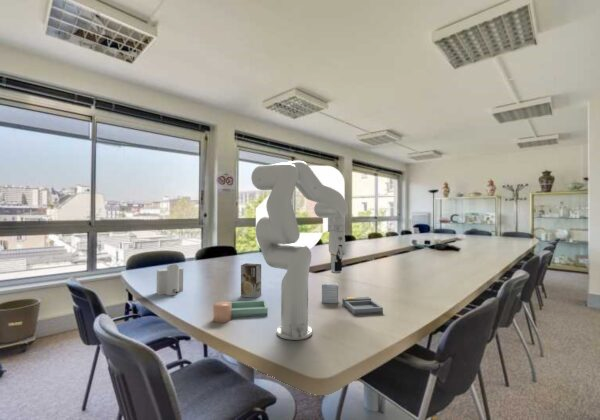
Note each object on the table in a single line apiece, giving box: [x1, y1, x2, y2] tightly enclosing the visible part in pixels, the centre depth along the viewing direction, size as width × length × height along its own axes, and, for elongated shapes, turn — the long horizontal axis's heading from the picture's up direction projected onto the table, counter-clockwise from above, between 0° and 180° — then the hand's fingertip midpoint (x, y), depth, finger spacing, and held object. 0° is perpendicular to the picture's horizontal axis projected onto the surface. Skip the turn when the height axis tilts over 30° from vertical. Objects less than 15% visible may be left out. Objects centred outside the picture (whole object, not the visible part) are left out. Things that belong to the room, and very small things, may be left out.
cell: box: [330, 253, 342, 274], centre depth 130 cm, size 4×4×8 cm
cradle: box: [341, 296, 384, 316], centre depth 129 cm, size 14×13×3 cm
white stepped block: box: [156, 263, 184, 296], centre depth 152 cm, size 12×14×15 cm
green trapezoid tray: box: [230, 299, 269, 319], centre depth 124 cm, size 11×16×3 cm
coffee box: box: [240, 262, 262, 299], centre depth 149 cm, size 9×6×16 cm
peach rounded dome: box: [212, 301, 232, 324], centre depth 115 cm, size 7×7×6 cm
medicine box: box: [321, 282, 339, 304], centre depth 139 cm, size 8×4×9 cm, turn 84°
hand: (336, 269), depth 130 cm, fingers closed on cell, 4 cm apart
